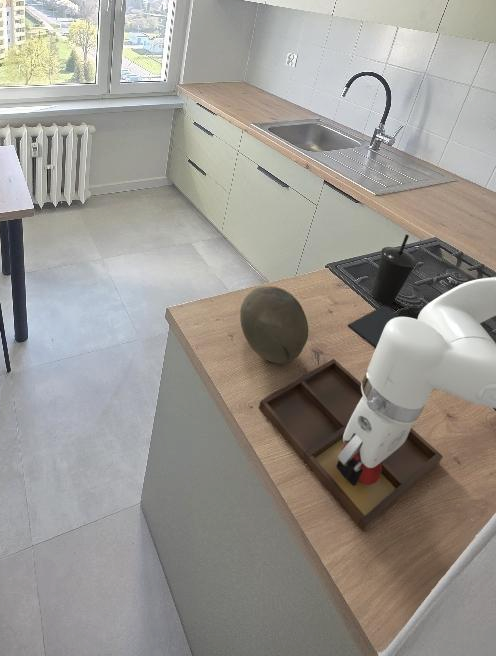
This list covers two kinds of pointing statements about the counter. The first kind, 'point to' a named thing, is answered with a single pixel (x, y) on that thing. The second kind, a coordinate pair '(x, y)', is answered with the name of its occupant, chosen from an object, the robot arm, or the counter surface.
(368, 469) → the onion
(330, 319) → the counter surface
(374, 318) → the mat
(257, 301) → the grey-brown oval ball
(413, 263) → the drinking cup
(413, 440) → the tray
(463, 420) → the counter surface
